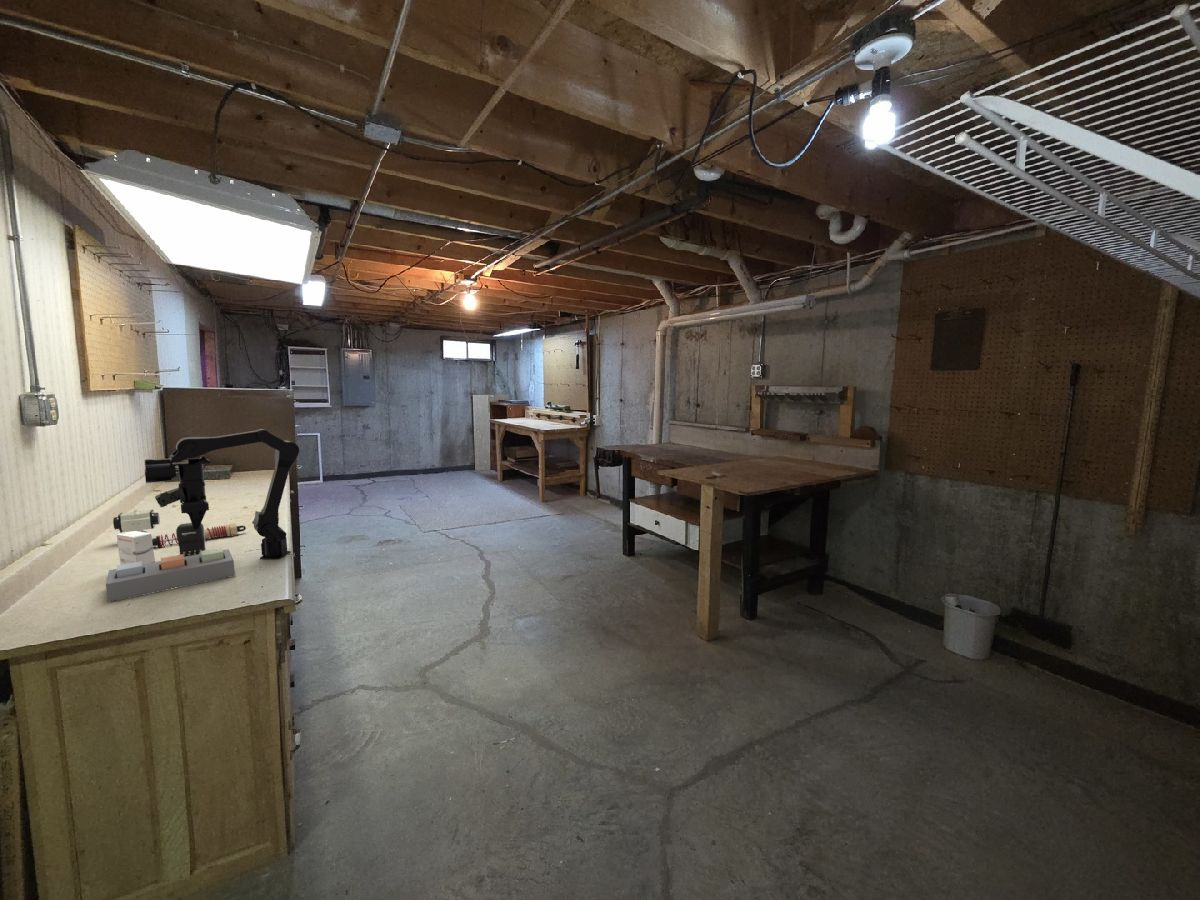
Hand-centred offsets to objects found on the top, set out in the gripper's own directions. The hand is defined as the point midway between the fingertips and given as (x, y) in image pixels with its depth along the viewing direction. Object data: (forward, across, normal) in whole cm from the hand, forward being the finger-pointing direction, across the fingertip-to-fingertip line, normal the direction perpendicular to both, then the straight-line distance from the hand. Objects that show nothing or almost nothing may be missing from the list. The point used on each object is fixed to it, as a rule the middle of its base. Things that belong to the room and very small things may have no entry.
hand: (196, 529), depth 148 cm
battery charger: (+14, -18, -1) cm, 22 cm away
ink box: (+14, -13, -14) cm, 24 cm away
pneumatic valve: (+14, -50, -15) cm, 54 cm away
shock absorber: (+14, -38, 0) cm, 40 cm away
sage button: (+10, +5, +3) cm, 12 cm away
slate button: (+11, +6, -15) cm, 19 cm away
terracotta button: (+10, +6, -6) cm, 13 cm away
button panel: (+13, +6, -6) cm, 16 cm away
